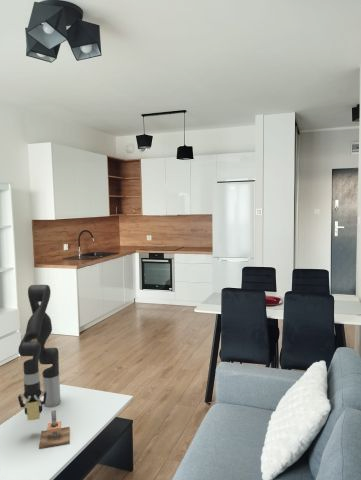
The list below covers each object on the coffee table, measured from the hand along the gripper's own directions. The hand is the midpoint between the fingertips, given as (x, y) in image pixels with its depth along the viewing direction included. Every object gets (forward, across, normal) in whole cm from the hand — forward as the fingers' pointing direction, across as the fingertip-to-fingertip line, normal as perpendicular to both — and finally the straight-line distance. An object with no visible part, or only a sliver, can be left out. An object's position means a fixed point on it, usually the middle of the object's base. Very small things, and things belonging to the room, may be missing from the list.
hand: (33, 413), depth 207 cm
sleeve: (+2, 0, 0) cm, 2 cm away
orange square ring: (+6, -10, +7) cm, 14 cm away
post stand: (+11, -10, +7) cm, 17 cm away
